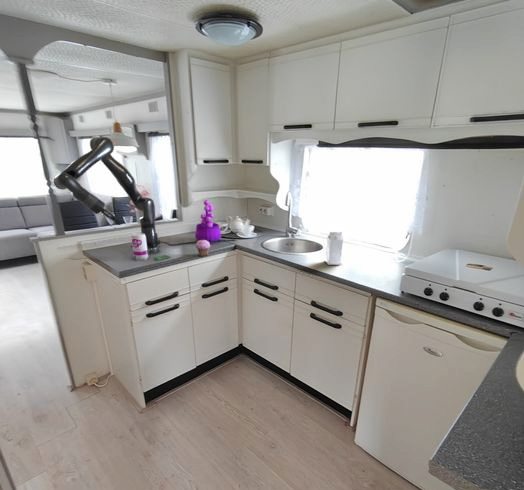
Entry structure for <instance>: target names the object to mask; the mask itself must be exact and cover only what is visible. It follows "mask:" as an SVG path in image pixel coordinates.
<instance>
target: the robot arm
mask: <svg viewBox="0 0 524 490" xmlns="http://www.w3.org/2000/svg"><path fill="white" fill-rule="evenodd" d="M89 148H90V151H88V152H86V153H85V154H83V155H81V156H79V157H77V158H76V159H75V160H74V161H72V162H71V163H70V164H69V165H68V166H67V167H66V168H65V169H64V170H62V171H61V172H60V173H59V174H56V176H55V177H54V178H53V185H54V187H55V188H56V189H58V190H63V191H64V190H67V191H69V192H71V196H72V197H73V198H74V199H75V200H76V201H78V202H80V203H81V204H82V205H83V206H84V207H85V208H87V209H88V210H90V211H91V212H92V213H94V214H95V215H99V213H101V214H100V215H102V216H103V217H105V218H107V219H109V220H111V222H114V223H116V225H118V226H121V225H122V221H121V220H119V219H118V218H117V217H116V216H115V215H114V214H113V213H112V212H111V211H110V210H109V209H107V208H106V207H105V206H106V203H105V202H104V201H102V200H101V199H100V198H98V197H97V196H96V195H95V194H93V193H92V192H90V191H88V190H87V189H86V188H85V187H83V186H82V185H81V183H80V182H79V181H78V179H79V178H81V177H82V176H84V175H85V173H87V172H88V171H89V170H90V169H91V168H93V166H95V165H96V164H97V163H98V162H101V163H102V164H103V165H104V166H105V167H106V168H107V170H108V171H109V173H111V175H112V177H113V178H114V179H115V180H116V182H117V183H118V184H119V186H120V187H121V188H122V189H123V191H124V192H125V194H127V196H128V197H129V199H130V200H131V202H132V204H133V205H134V207H135V208H136V210H138V211H139V212H143V213H142V214H143V216H141V217H140V218H139V225H140V233H144V234H145V236H146V242H147V245H158V246H160V245H161V244H166V245H168V246H172V247H173V246H180V245H187V244H196V243H197V242H198V240H196V241H187V242H180V243H173V244H172V243H169V242H168V241H167V242H166V241H161V240H160V239H159V238H158V237H159V236H158V233H157V229H156V222H155V220H156V206H155V202H154V199H152V198H150V197H145V196H143V195H142V194H141V193H140V192H139V190H138V189H137V184H136V183H137V182H136V180H135V177H134V176H133V175H132V173H131V172H130V170H129V169H128V168H127V167H126V166H124V164H122V163H121V162H119V161H118V159H117V160H116V159H115V158H114V156H113V155H112V153H114V150H115V144H114V141H113V140H112V139H111V138H109V137H107V136H97V137H96V136H95V137H92V138H91V139H90V141H89ZM231 241H233V242H234V241H236V239H235V238H234V239H233V238H232V239H219V240H218V241H217V242H231Z"/></svg>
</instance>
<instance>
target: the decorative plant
mask: <svg viewBox="0 0 524 490" xmlns="http://www.w3.org/2000/svg"><path fill="white" fill-rule="evenodd" d="M203 205H204V207H203V210H204V211H205V213H201V214H200V219H201V221H200V223H197V224H196V227H195V233H194V238H195V239H196V241H199V240H206V241H208V242H209V243H210V244H211V243H216V242H219V241H218V240H221V238H222V232H221V229H220V225H219V223H217V222H213V221H212V219H213V218H214V213H212V212H213V210H214V207H213V205H211V204H210V201H209V200H208V199H205V200H204V201H203Z"/></svg>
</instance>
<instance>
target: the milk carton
mask: <svg viewBox="0 0 524 490" xmlns="http://www.w3.org/2000/svg"><path fill="white" fill-rule="evenodd" d="M343 243H344V239H343V233H342V231H329V234H328V236H327V240H326V251H325V262H326V263H327V265H334V266H336V265H337V266H338V265H341V261H342V251H343V250H342V249H343Z"/></svg>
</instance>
